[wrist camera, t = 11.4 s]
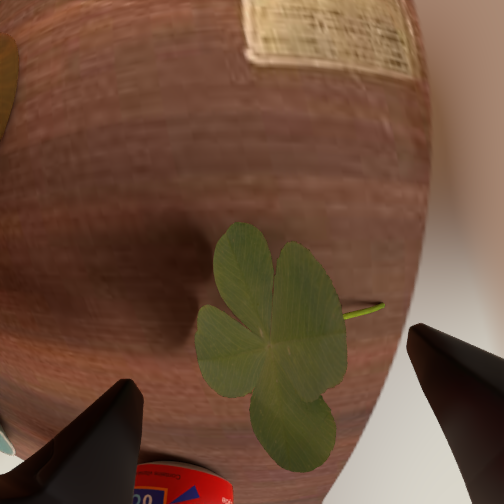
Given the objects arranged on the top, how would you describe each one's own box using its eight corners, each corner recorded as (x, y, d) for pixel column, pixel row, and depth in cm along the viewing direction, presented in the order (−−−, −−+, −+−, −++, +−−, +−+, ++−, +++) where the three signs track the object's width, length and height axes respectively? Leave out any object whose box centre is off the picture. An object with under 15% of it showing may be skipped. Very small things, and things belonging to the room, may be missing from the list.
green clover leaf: (290, 262, 15) (169, 279, 11) (413, 176, 9) (272, 138, 5) (332, 389, 13) (219, 444, 9) (482, 362, 6) (392, 499, 3)
